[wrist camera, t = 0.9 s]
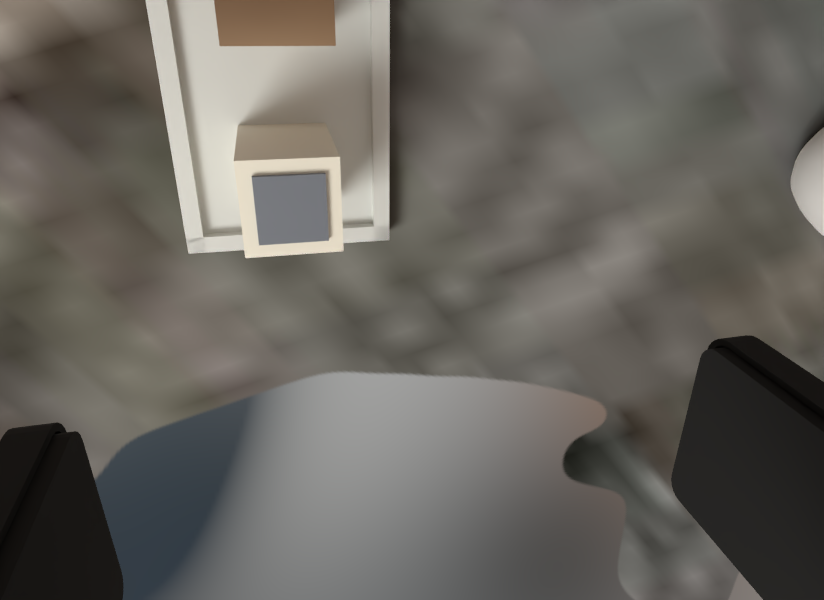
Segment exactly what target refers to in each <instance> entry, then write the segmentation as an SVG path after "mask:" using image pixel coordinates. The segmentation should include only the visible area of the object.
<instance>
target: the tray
mask: <svg viewBox="0 0 824 600" xmlns="http://www.w3.org/2000/svg"><path fill="white" fill-rule="evenodd" d="M146 5H147V11H148V17H149V23H150V29H151V35H152V41H153V47H154V53H155V58H156V64H157V70H158V76H159V82H160V88H161V94H162V100H163V106H164V111H165V117H166V123H167V129H168V135H169V141H170V147H171V153H172V159H173V164H174V170H175V176H176V182H177V188H178V194H179V200H180V206H181V212H182V217H183V223H184V229H185V235H186V241H187V247H188V253H189V254H192V253H206V252H221V251H235V250H244V243H243V235H242V226H241V218H240V210H239V202H238V194H237V185H236V177H235V169H234V153H235V145H236V137H237V128H238V125H265V124H300V123H326V126H327V128H328V130H329V133H330V135H331V137H332V140H333V142H334V144H335V146H336V149H337V151H338V153H339V156H340V170H341V197H342V224H343V243H353V242H367V241H382V240H389V148H390V0H334V9H335V36H336V46H219V37H218V29H217V21H216V13H215V5H214V0H146Z"/></svg>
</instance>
